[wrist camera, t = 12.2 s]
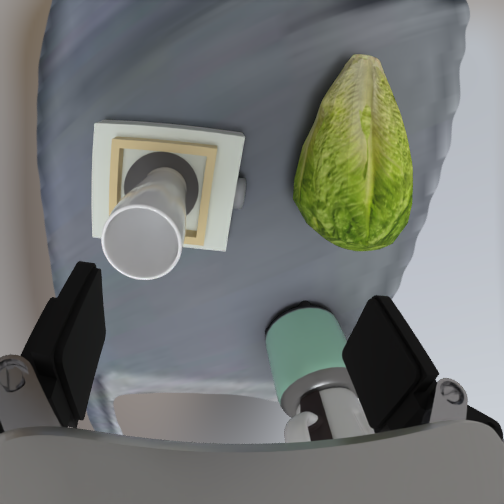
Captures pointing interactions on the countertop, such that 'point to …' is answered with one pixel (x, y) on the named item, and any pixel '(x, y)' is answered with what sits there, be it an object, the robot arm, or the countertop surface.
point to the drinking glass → (148, 226)
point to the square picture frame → (178, 158)
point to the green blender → (313, 376)
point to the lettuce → (356, 162)
